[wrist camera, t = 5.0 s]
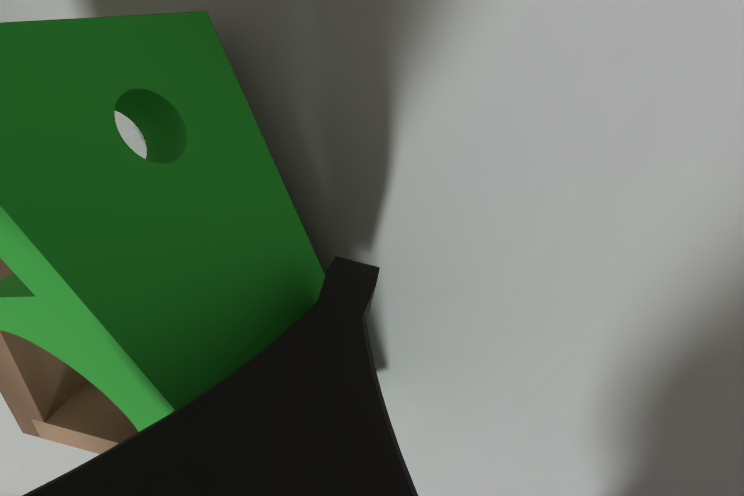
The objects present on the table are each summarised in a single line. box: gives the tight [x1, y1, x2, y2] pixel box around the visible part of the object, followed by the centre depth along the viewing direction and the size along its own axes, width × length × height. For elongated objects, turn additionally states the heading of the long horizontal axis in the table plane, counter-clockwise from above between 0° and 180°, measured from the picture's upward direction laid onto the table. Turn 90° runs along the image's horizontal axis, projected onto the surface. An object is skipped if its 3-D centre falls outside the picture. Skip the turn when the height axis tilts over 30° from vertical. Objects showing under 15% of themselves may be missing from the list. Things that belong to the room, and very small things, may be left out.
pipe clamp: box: [0, 11, 325, 432], centre depth 8 cm, size 11×4×5 cm, turn 18°
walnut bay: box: [0, 258, 139, 454], centre depth 9 cm, size 10×19×2 cm, turn 169°
